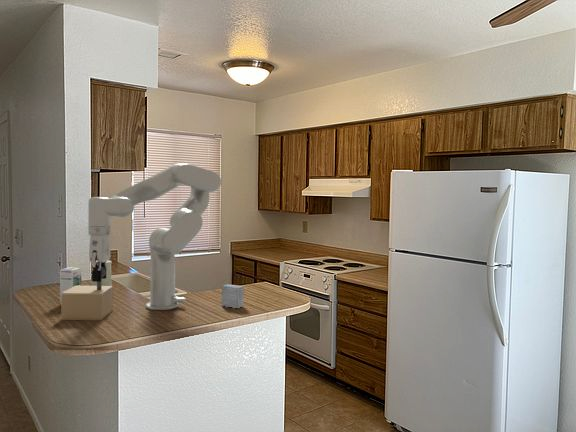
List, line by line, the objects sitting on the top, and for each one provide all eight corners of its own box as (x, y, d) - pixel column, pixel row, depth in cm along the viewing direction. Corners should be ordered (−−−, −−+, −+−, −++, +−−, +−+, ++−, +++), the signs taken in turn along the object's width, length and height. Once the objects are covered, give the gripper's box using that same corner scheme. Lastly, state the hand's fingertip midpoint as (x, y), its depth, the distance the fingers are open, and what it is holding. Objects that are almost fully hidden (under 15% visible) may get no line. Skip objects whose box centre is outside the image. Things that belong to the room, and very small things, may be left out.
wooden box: (112, 310, 183) (112, 287, 183) (101, 320, 170) (101, 295, 170) (75, 310, 182) (75, 287, 182) (61, 319, 169) (61, 294, 169)
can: (87, 286, 225) (87, 261, 224) (98, 282, 234) (98, 258, 233) (105, 287, 223) (105, 262, 222) (115, 284, 232) (115, 259, 231)
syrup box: (72, 306, 188) (72, 269, 188) (59, 304, 190) (59, 268, 189) (81, 302, 194) (81, 267, 193) (69, 301, 195) (69, 266, 194)
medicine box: (243, 307, 194) (244, 286, 194) (238, 309, 190) (238, 288, 190) (227, 304, 198) (227, 284, 197) (221, 306, 194) (221, 285, 193)
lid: (112, 287, 183) (112, 263, 182) (101, 295, 170) (101, 269, 169) (75, 287, 182) (75, 263, 181) (61, 294, 169) (61, 268, 168)
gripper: (102, 233, 166) (102, 284, 167) (116, 228, 183) (116, 275, 184) (80, 232, 166) (80, 284, 167) (96, 228, 183) (96, 275, 184)
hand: (99, 279), depth 176 cm, fingers open, 4 cm apart
